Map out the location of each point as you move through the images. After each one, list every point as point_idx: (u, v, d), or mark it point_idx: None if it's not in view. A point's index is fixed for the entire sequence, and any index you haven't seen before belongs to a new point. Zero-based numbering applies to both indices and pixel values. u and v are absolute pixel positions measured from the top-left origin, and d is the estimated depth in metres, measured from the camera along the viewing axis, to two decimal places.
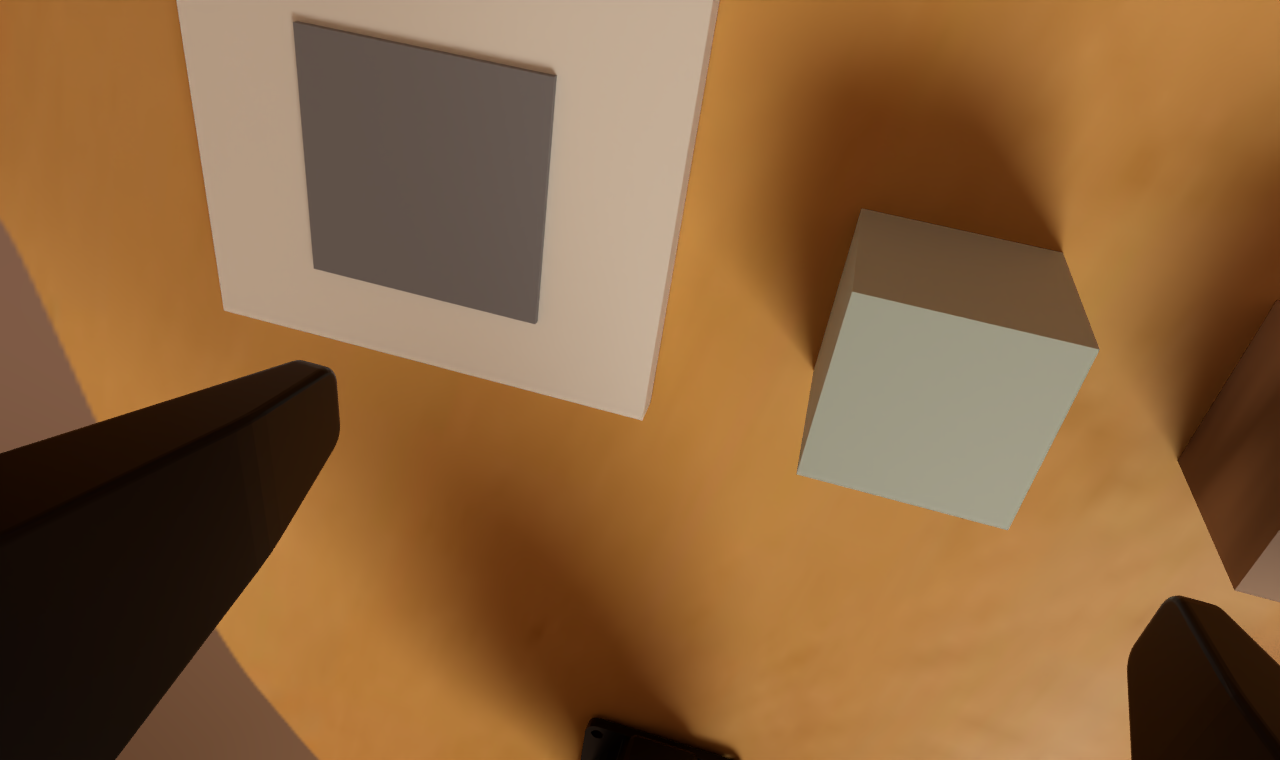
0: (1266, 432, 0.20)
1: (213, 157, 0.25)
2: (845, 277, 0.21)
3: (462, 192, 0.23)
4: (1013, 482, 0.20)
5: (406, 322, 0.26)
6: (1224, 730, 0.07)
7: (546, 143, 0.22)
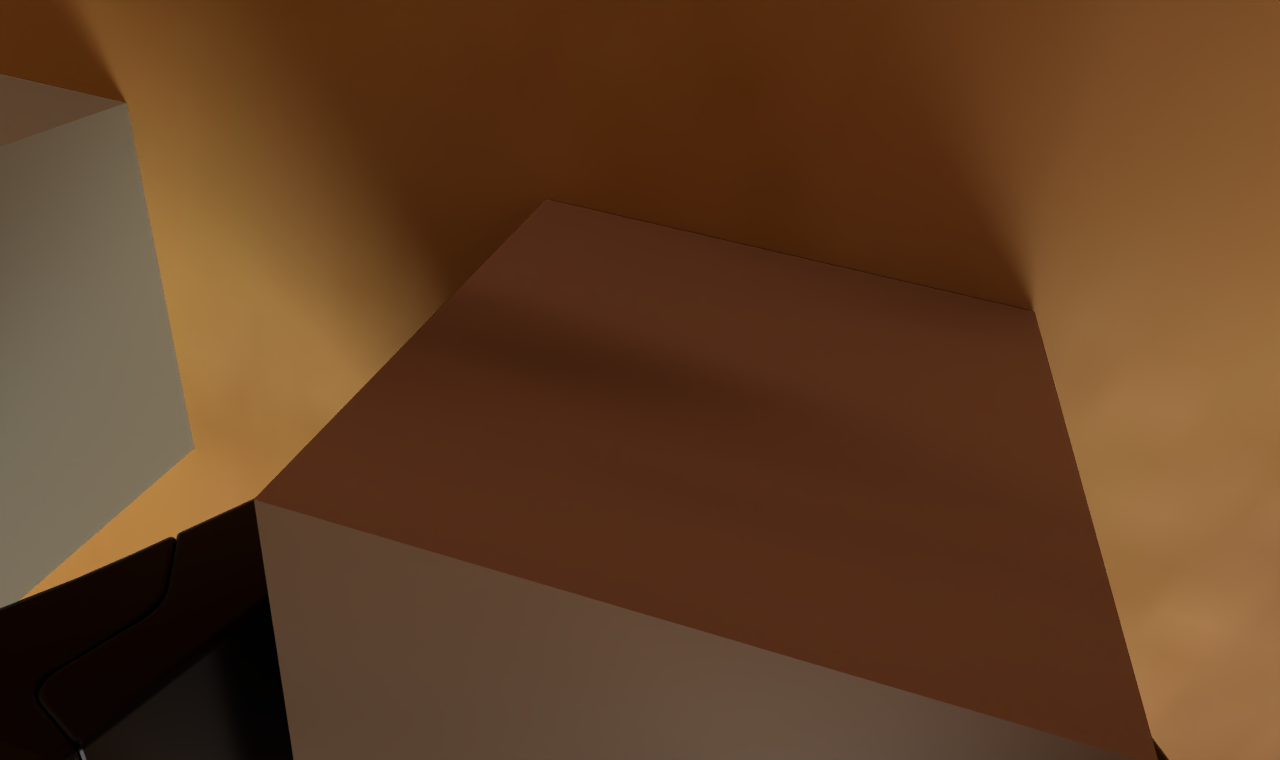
0: None
1: None
2: None
3: None
4: None
5: None
6: None
7: None
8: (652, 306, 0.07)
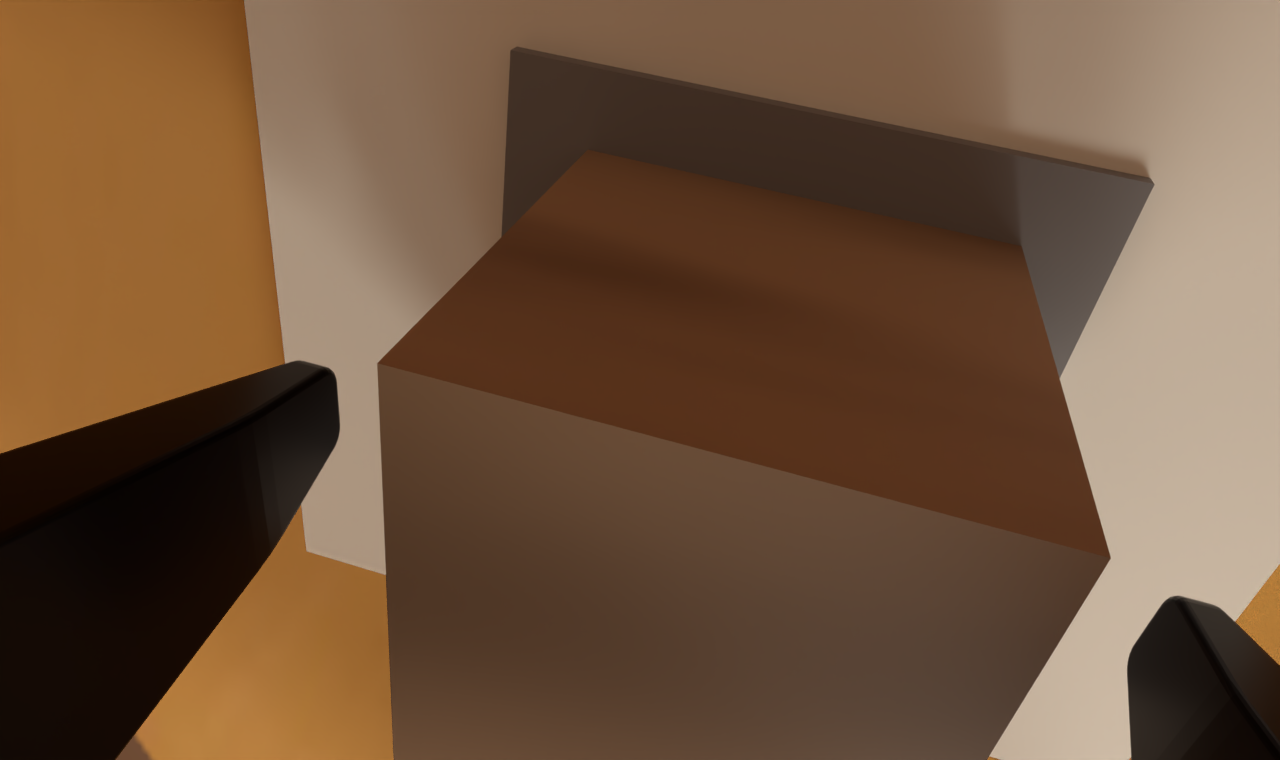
0: None
1: (304, 307, 0.13)
2: None
3: None
4: None
5: None
6: (1224, 730, 0.07)
7: (1075, 321, 0.10)
8: (687, 234, 0.09)
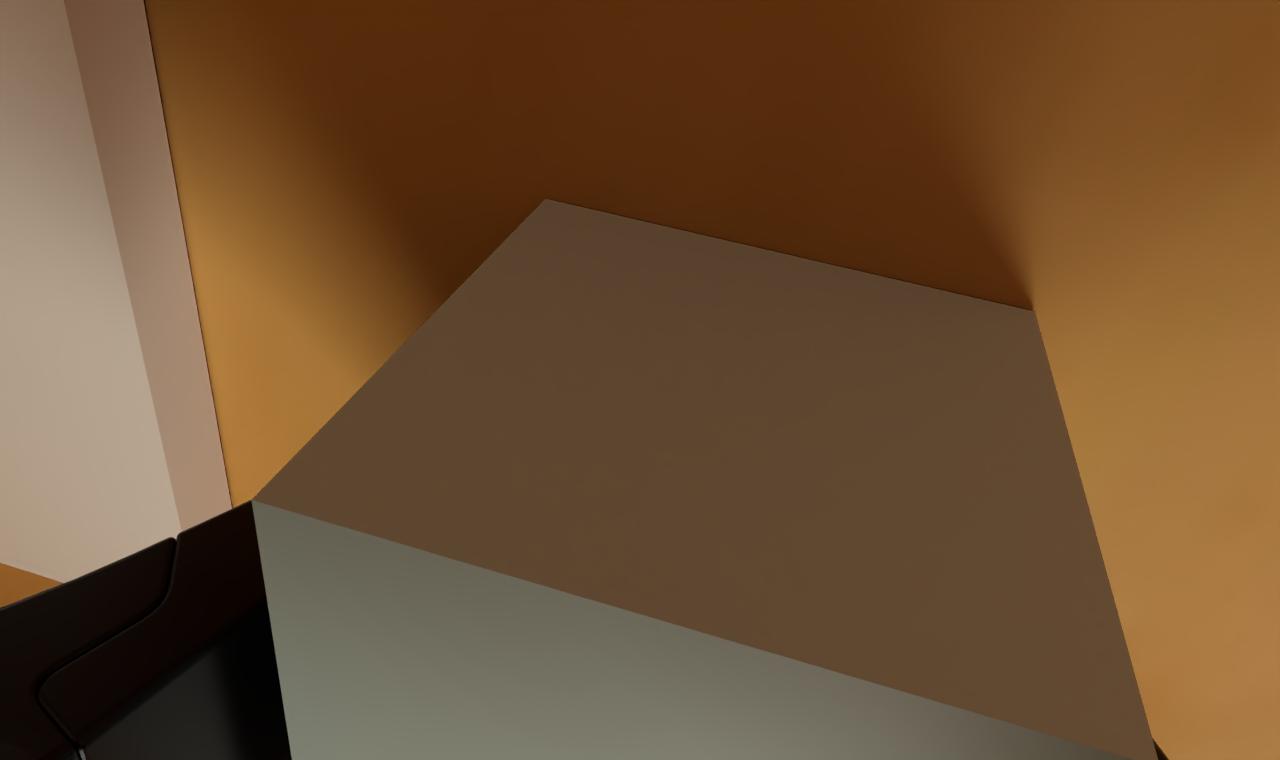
0: None
1: None
2: None
3: None
4: None
5: None
6: None
7: None
8: None
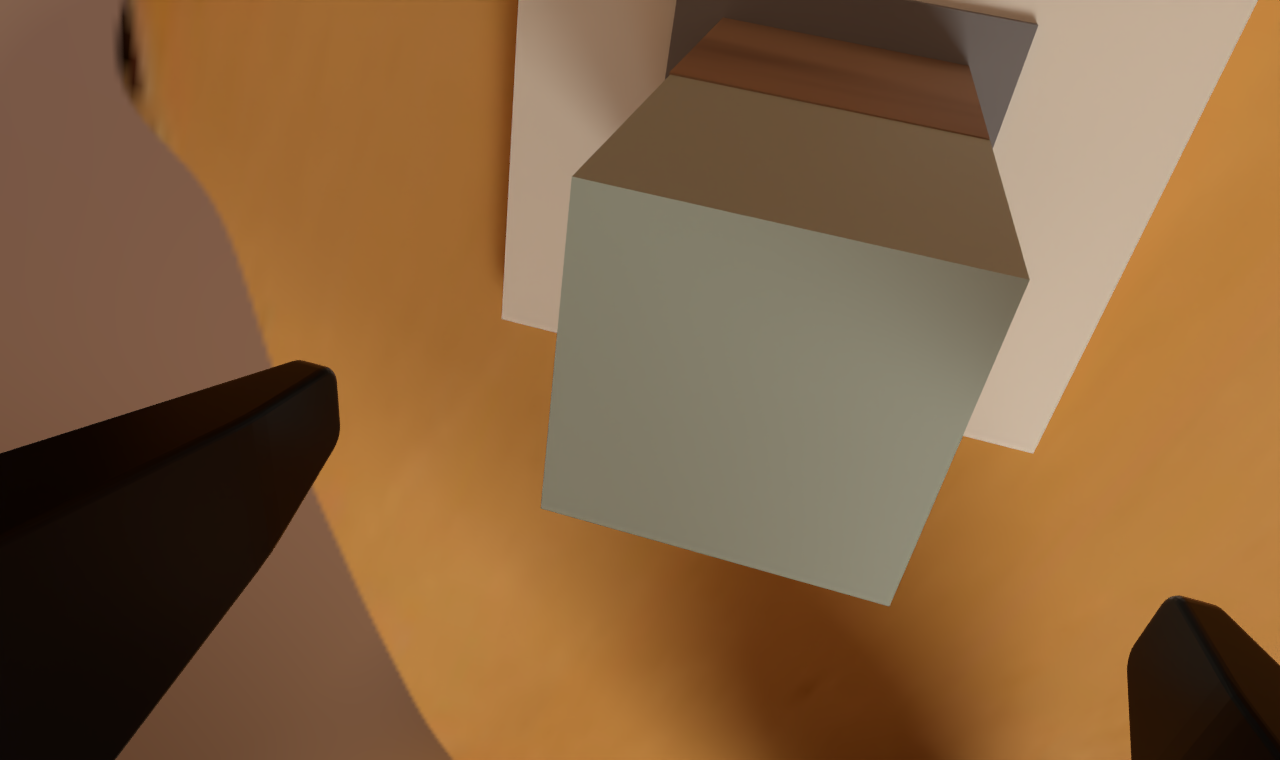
0: None
1: (529, 133, 0.20)
2: None
3: None
4: (891, 527, 0.11)
5: None
6: (1224, 730, 0.07)
7: (1000, 111, 0.18)
8: (789, 49, 0.16)
